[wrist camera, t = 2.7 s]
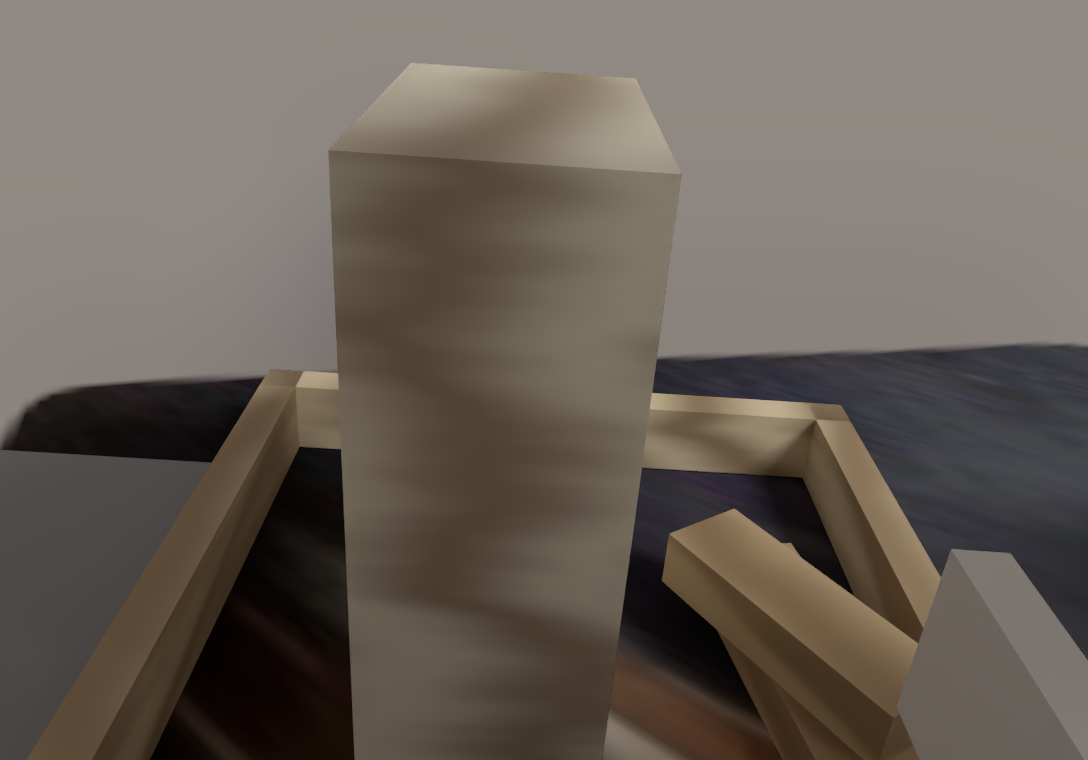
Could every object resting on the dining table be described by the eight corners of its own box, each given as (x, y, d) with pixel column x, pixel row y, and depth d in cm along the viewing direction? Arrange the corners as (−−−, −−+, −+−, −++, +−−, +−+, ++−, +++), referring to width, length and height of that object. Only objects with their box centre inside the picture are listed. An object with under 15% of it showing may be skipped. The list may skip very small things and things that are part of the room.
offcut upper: (725, 554, 33) (734, 508, 32) (942, 726, 26) (961, 674, 25) (661, 580, 31) (669, 533, 30) (875, 770, 25) (893, 717, 24)
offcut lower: (779, 589, 35) (790, 542, 34) (943, 852, 25) (965, 798, 24) (692, 596, 34) (701, 548, 33) (827, 869, 24) (845, 814, 23)
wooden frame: (826, 461, 42) (840, 404, 41) (1117, 1049, 20) (1167, 970, 19) (274, 427, 42) (270, 369, 40) (-33, 993, 20) (-66, 907, 18)
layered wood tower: (579, 600, 33) (635, 78, 24) (588, 857, 24) (681, 173, 15) (412, 590, 32) (411, 63, 24) (358, 845, 24) (328, 150, 15)
